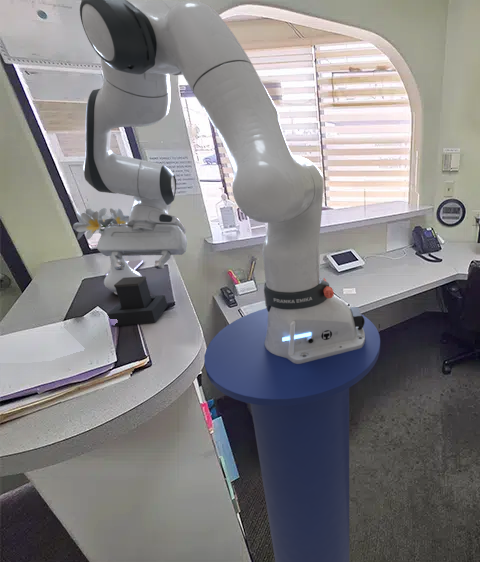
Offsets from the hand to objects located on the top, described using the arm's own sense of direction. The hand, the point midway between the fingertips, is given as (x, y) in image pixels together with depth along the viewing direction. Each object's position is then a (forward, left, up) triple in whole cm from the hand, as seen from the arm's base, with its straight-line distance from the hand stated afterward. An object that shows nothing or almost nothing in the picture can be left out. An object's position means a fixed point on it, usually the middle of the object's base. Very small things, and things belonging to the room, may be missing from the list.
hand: (138, 268), depth 81 cm
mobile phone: (+19, -35, -11) cm, 42 cm away
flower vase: (+11, -14, -12) cm, 21 cm away
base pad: (0, +5, -11) cm, 12 cm away
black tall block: (0, +5, -11) cm, 12 cm away
